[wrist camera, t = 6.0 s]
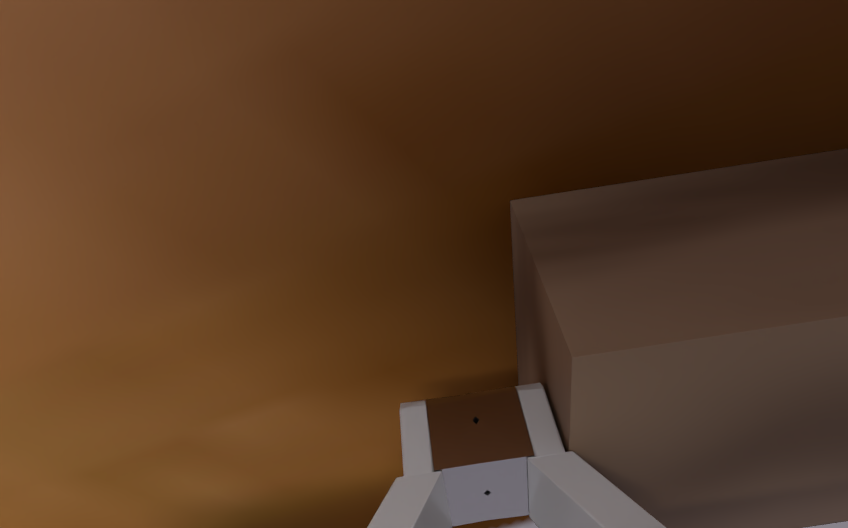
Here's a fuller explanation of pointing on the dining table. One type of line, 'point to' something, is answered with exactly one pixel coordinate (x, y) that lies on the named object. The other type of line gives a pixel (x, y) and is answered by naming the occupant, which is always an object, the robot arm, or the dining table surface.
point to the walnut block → (697, 337)
